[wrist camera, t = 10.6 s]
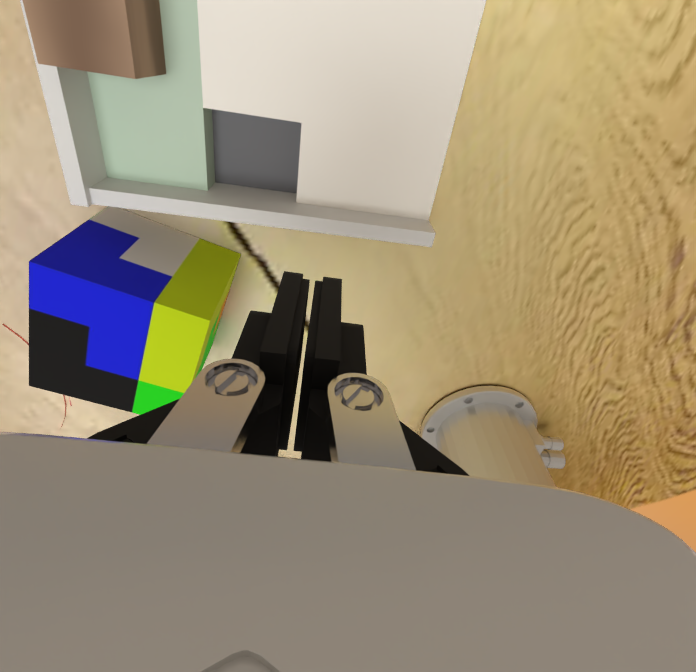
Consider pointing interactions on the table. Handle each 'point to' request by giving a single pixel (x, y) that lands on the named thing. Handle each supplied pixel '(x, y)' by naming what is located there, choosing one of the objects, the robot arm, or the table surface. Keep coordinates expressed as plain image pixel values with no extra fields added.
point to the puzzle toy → (125, 311)
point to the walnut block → (98, 36)
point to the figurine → (28, 344)
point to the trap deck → (276, 115)
